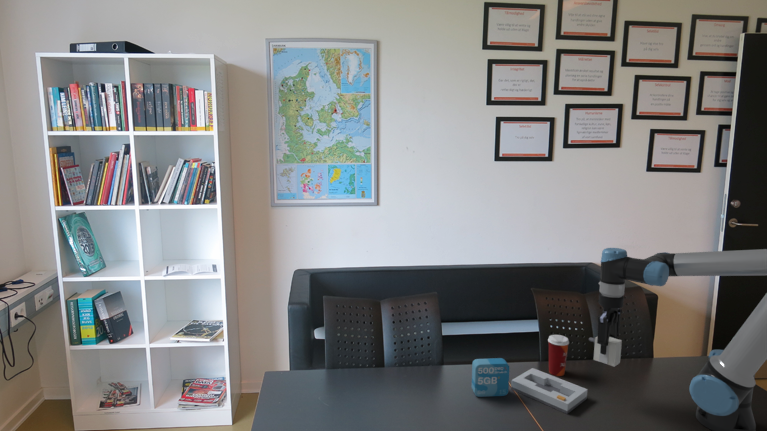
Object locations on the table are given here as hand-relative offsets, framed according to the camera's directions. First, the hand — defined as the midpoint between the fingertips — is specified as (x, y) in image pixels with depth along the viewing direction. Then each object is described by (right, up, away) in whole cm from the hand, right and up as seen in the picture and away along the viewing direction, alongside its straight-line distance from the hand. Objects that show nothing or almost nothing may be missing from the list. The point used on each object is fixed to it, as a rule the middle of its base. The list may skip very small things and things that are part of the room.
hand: (606, 360), depth 160 cm
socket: (-18, -13, +5) cm, 23 cm away
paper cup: (-10, -11, +20) cm, 25 cm away
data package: (-39, -13, +5) cm, 42 cm away
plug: (-1, 0, +1) cm, 2 cm away
